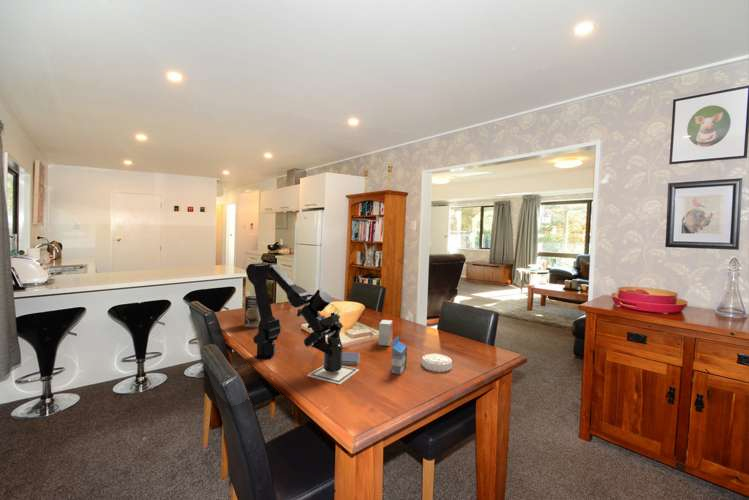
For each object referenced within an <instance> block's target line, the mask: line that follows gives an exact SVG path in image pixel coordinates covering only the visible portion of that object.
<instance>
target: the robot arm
mask: <svg viewBox="0 0 749 500" xmlns="http://www.w3.org/2000/svg"><path fill="white" fill-rule="evenodd" d="M245 272H246V275H247V278H248V281H249V282H250V283H251V284H252V286H253V289H254V294H255V296H256V299H257V304H258V309H259V314H260V322H259V326H258V328H257V329H258V332H257V333H256V335H255V336H254V337H253V338H252V339H253V343H254V344H256V355H255V359H272V358H273V357H274V355H275V354H276V344H275V341H276V340H278V338H279V335H280V334H281V329H282V327H281V324H280V319H278V318H277V319H276V318H275V317H274V315H273V310H272V305H271V301H270V296H269V291H268V287H267V286H268V285H267V280H268V278H269V276H270V277H271V278H272V279H273V281H275V282H276V284H277V285H278V286H279V288H281V289H282V290H283V291H284V293H285V294H286V298H287V300H288V302H289V303H290V305H291V306H292V307H294V308H298V309H297V314H296V317H297V318H298V317H303V318H304V320H305V321H306V323H307V325H306V326H307V329H308V330H309V329H311V331H312V332H311V333H309V335H307V336H306V337H305V338H304V339H303V344H304V346H305V347H306V348H309V347H310V348H314V349H317V350H318V351H320V352H323V354H324V353H326V354H328V355H329V356H332V355H333V353H332V351H331V350H330V348H329V346H328V344H327V343H328V342H327V340H326V339H327V338H326V336H327V337H328V336H332V335H335V336H340V333H341V330H342V329H343V328H344V325H343V324H342V322H341V321H340V318H341V315H340V314H339V313H338V312H337V311H334V312H331V313H330V315H329V316H327V317H326V316H325V315H321V313H320V312H323V311H324V310H325V308H326V307H328V306H329V305H330V304H331V303H332V301H333V299H332V296H331V294H329V293H328V292H326V291H324V290H323V289H322V288H320V289H317V290H316V291H315V292H314V294H311V293H309V291H307V290H305V289H304V288H303V287H301V286H298V285H297V284H296V283H295V282H294V281H292V278H290V277H289V276H288V275H287V274H286V273H285V272H284V270H282V269H281V268H280V265H279V264H278V263H267V264H265V263H264V262H263V263H262V262H259V263H250V264H248V266H247V267H246V268H245ZM300 307H302V308H300ZM340 344H341V345H342V347H343V344H342V341H341V339H340ZM343 348H344V347H343Z"/></svg>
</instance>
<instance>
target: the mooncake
mask: <svg viewBox="0 0 749 500" xmlns="http://www.w3.org/2000/svg"><path fill="white" fill-rule="evenodd" d="M421 366H422V368H425V369H426V370H428V371H433V372H439V373H441V372H443V373H444V372H448V371H451V369H452V368H453V367H452V366H453V359H451V357H449V356H447V355H444V354H441V353H434V352H433V353H426V354H423V356H422V357H421Z"/></svg>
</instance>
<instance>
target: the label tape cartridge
mask: <svg viewBox="0 0 749 500" xmlns="http://www.w3.org/2000/svg"><path fill="white" fill-rule="evenodd" d="M399 338H400V336H399V335H397V336H396V337H395V338H394V339H392V342H391V346H392V352H391V372H390V373H391V374H394V375H399V376H400V375H401V374H402V373H403V371H404V370H405V369H406V368H407V363H408V362H407V358H408V346H407V345H405V343H402V342H401V341H400V339H399Z"/></svg>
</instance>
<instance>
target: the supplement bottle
mask: <svg viewBox="0 0 749 500" xmlns="http://www.w3.org/2000/svg"><path fill="white" fill-rule="evenodd" d="M326 339H327V340H326V343H327V344H328V346H329V348H330V350H331V351H332V353H333V355H332V356H329V355H328V354H326V353H324V352H323V365H324V369H325V370H326V371H329V372H336V371H339V370H341V368H342V366H343V365H342V352H343V350H344V347H342V346H343V344H342V345H341V344H340V340H341V335H339V336H335V335H332V336H328V335H327V338H326Z"/></svg>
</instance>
